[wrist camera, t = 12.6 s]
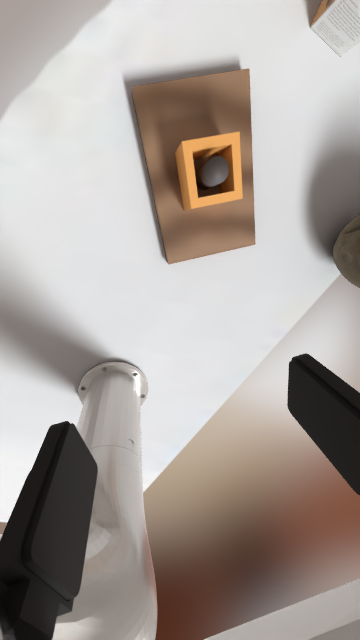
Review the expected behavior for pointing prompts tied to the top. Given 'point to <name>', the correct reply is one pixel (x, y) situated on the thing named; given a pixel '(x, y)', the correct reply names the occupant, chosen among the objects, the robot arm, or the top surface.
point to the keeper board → (197, 160)
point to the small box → (338, 24)
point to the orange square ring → (208, 147)
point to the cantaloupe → (349, 251)
